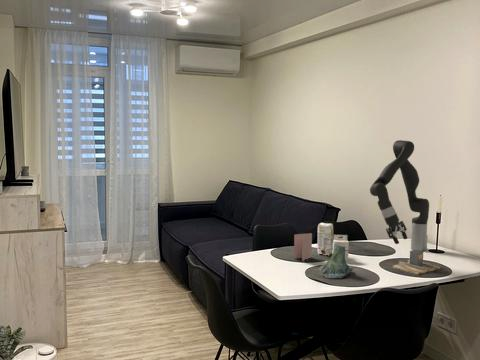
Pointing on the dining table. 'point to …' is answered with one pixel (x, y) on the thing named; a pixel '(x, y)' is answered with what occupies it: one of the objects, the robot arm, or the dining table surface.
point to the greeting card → (303, 246)
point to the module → (416, 258)
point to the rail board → (415, 267)
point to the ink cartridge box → (342, 243)
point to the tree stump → (336, 264)
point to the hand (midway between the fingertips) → (401, 241)
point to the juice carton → (325, 239)
